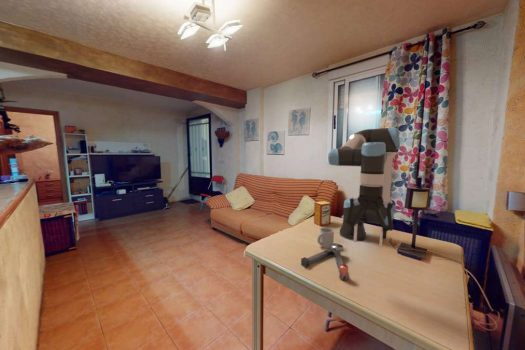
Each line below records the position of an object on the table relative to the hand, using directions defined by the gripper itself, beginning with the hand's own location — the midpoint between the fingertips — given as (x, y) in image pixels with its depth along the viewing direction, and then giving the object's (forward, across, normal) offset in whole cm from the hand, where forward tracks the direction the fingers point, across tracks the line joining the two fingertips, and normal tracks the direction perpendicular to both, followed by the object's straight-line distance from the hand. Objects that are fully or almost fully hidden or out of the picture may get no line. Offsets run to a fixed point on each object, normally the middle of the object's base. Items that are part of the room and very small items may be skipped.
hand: (367, 243), depth 75 cm
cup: (+17, +23, -24) cm, 38 cm away
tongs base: (+17, +19, -9) cm, 27 cm away
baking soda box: (+17, +34, -57) cm, 69 cm away
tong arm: (+17, +12, -9) cm, 22 cm away
